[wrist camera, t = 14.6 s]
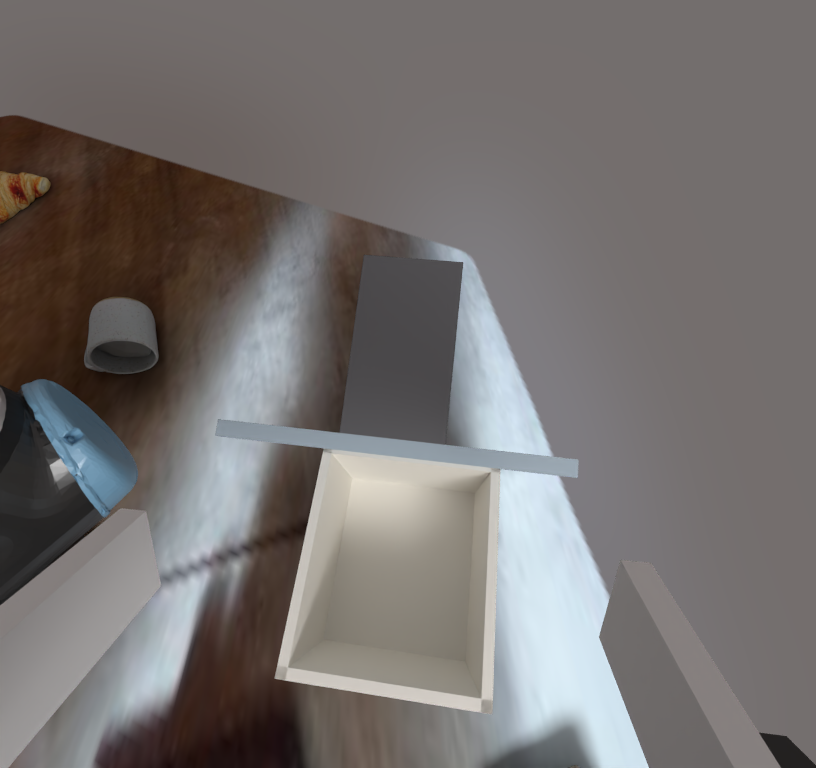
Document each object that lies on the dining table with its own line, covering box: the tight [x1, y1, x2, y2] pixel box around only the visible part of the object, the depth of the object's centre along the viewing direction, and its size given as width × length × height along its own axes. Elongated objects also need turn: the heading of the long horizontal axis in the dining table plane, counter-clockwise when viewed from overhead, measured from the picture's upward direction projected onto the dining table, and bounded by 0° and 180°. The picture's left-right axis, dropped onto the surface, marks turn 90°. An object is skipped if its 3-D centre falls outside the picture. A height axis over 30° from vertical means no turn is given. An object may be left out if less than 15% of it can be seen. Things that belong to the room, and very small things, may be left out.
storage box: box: [275, 448, 500, 714], centre depth 39 cm, size 18×16×13 cm
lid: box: [215, 255, 578, 478], centre depth 28 cm, size 18×17×10 cm
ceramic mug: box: [84, 297, 159, 374], centre depth 54 cm, size 11×8×8 cm
